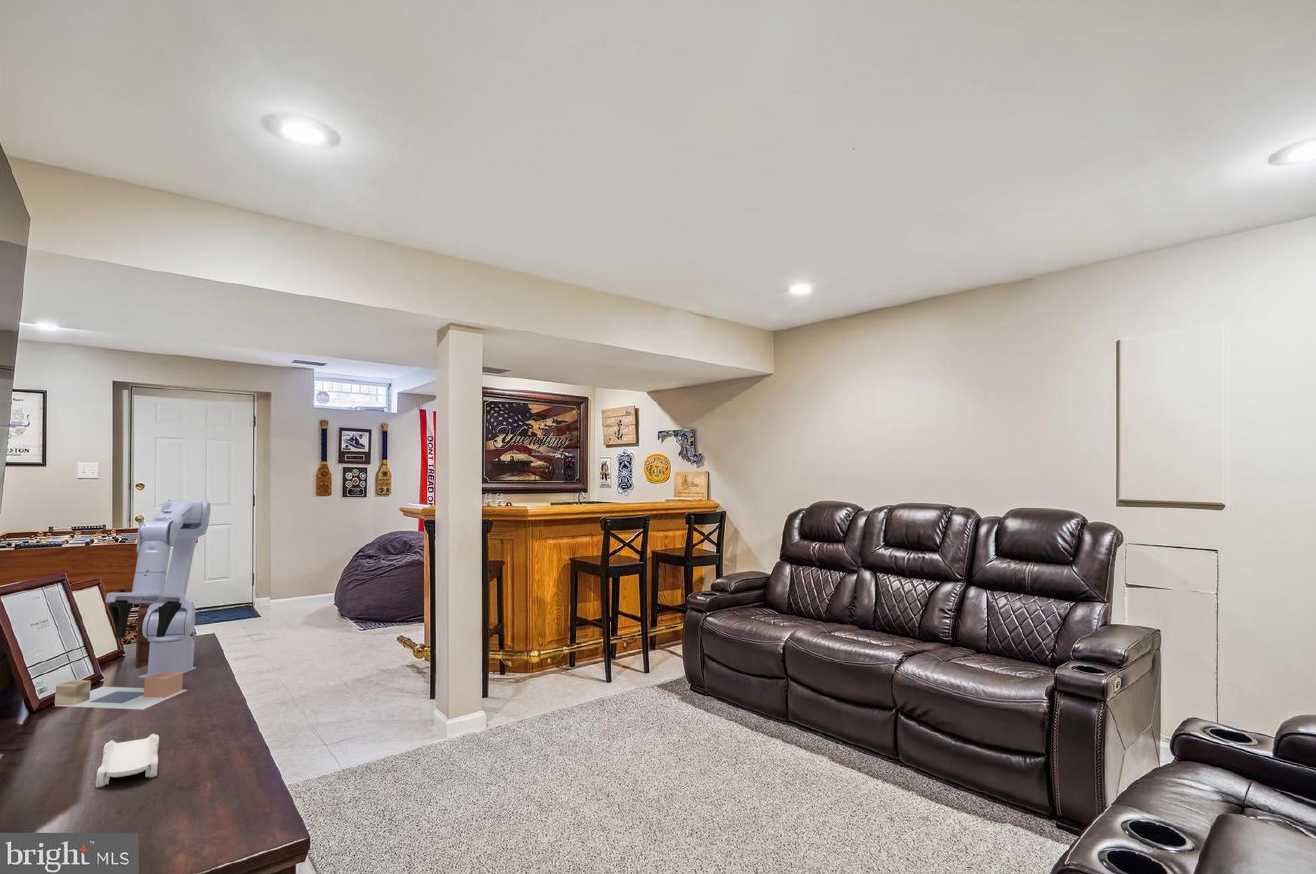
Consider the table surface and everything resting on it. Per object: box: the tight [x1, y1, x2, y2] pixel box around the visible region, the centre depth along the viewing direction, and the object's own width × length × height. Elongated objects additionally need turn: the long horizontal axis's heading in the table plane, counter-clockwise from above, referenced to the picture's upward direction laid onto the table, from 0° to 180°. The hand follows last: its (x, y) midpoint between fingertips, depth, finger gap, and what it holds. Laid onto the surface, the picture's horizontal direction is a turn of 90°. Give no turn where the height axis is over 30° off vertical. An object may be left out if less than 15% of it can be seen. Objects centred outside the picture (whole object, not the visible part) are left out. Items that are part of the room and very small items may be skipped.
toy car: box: [95, 733, 160, 789], centre depth 114 cm, size 18×8×4 cm, turn 36°
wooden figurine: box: [135, 599, 156, 669], centre depth 175 cm, size 12×6×18 cm, turn 36°
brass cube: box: [54, 679, 92, 706], centre depth 143 cm, size 4×4×4 cm
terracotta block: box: [143, 672, 184, 698], centre depth 150 cm, size 5×5×4 cm
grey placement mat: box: [54, 686, 188, 710], centre depth 146 cm, size 13×20×1 cm, turn 89°
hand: (140, 637), depth 144 cm, fingers open, 7 cm apart
